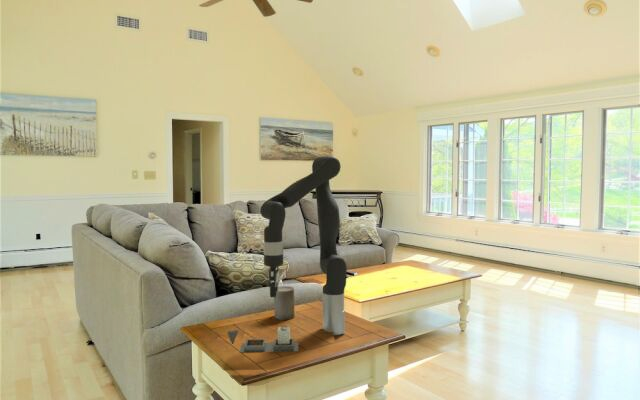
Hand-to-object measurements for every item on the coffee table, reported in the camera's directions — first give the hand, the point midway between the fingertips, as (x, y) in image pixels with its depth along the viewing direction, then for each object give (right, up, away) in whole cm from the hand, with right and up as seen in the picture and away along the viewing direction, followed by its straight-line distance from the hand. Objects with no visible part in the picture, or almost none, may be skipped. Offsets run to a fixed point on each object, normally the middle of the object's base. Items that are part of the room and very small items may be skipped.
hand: (274, 294), depth 182 cm
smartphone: (-16, -21, +13) cm, 30 cm away
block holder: (-2, -21, -2) cm, 22 cm away
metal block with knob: (+4, -20, -2) cm, 20 cm away
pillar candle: (+1, -19, +40) cm, 44 cm away
